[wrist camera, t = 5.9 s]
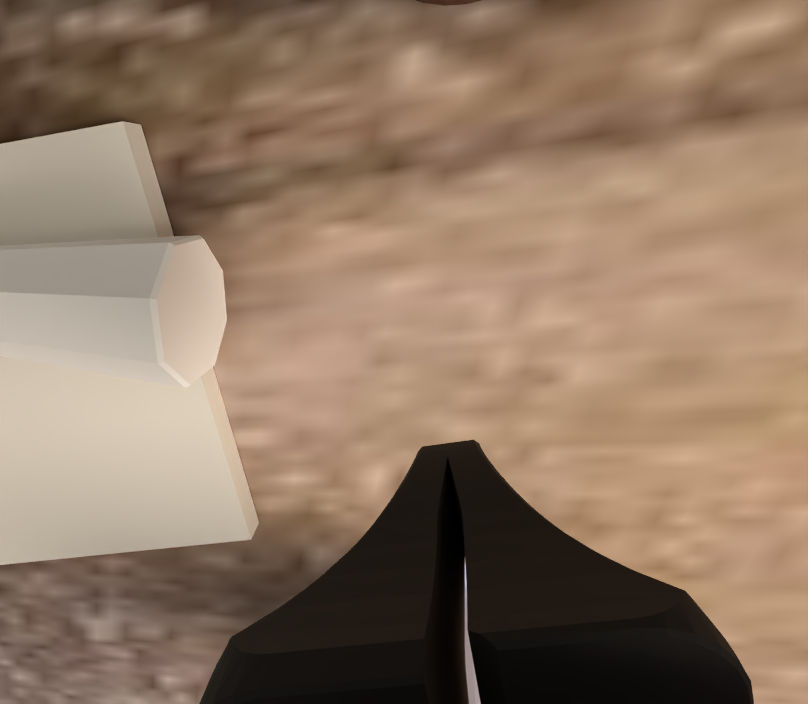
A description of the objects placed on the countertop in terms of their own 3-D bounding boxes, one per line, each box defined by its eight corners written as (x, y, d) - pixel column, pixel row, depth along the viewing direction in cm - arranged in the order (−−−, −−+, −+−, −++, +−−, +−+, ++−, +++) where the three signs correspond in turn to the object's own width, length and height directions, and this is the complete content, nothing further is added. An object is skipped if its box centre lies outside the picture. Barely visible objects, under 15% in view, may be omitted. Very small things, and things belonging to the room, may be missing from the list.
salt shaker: (238, 323, 22) (-6, 308, 22) (206, 204, 18) (-85, 190, 19) (187, 420, 18) (-110, 399, 18) (132, 292, 14) (-235, 271, 15)
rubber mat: (259, 522, 25) (250, 539, 24) (-21, 551, 26) (-42, 568, 25) (141, 124, 19) (122, 121, 18) (-211, 188, 20) (-249, 189, 19)
